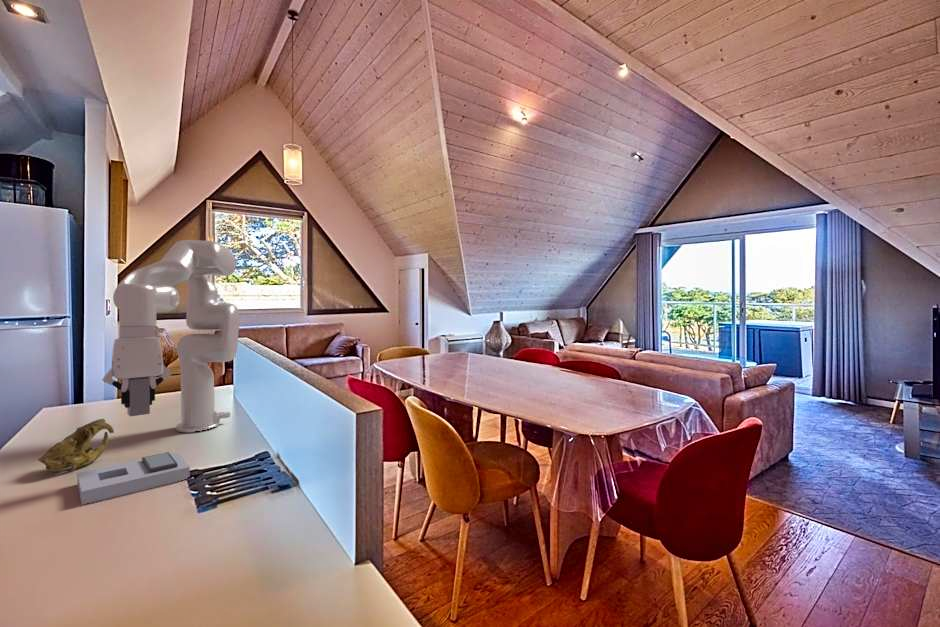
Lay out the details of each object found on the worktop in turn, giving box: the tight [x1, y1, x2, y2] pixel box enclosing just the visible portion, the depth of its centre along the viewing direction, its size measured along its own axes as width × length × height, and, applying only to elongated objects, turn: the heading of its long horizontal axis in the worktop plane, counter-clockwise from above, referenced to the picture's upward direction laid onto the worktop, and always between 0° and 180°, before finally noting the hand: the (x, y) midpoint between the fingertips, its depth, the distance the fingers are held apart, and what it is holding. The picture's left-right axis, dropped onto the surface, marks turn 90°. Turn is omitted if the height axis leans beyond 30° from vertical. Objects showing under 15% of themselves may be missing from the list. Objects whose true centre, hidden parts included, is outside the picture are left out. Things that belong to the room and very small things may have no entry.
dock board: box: [76, 451, 191, 506], centre depth 107 cm, size 20×14×4 cm
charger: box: [126, 377, 151, 417], centre depth 111 cm, size 4×4×9 cm
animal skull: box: [38, 418, 115, 472], centre depth 116 cm, size 9×16×10 cm, turn 163°
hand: (138, 404), depth 111 cm, fingers closed on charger, 4 cm apart
